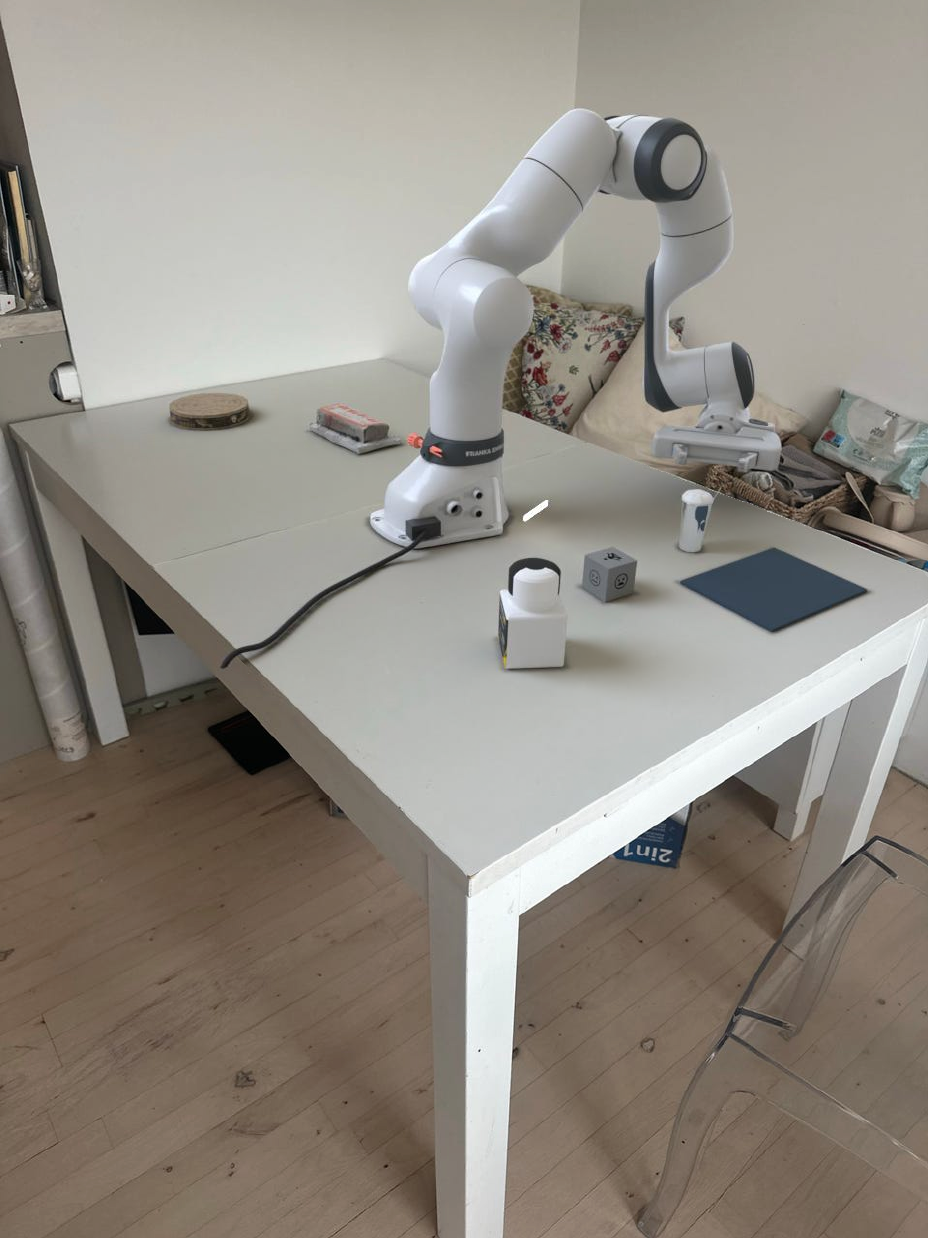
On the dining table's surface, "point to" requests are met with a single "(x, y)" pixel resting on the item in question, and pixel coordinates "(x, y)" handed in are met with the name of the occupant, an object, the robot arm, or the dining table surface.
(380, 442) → the packaged product
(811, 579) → the mat
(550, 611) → the medicine bottle
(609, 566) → the dice cube
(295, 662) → the dining table surface
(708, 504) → the milkshake
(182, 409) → the round wood slice
